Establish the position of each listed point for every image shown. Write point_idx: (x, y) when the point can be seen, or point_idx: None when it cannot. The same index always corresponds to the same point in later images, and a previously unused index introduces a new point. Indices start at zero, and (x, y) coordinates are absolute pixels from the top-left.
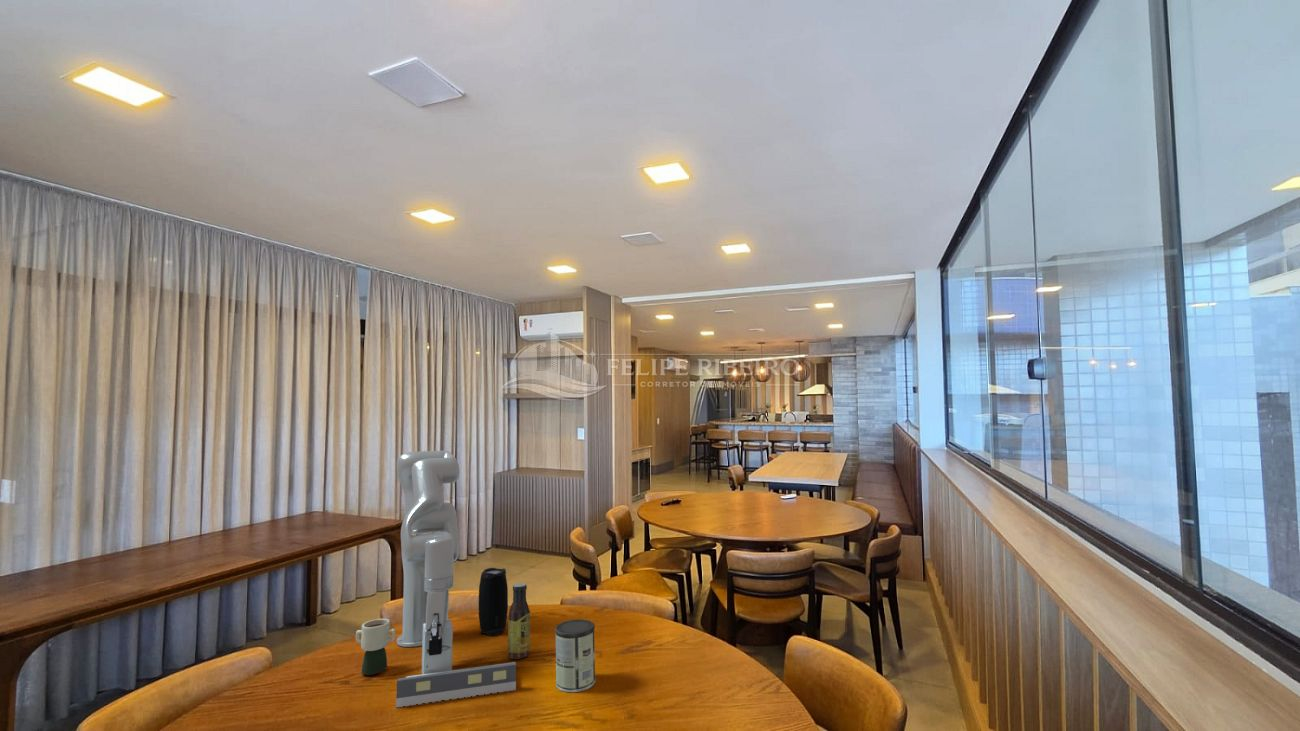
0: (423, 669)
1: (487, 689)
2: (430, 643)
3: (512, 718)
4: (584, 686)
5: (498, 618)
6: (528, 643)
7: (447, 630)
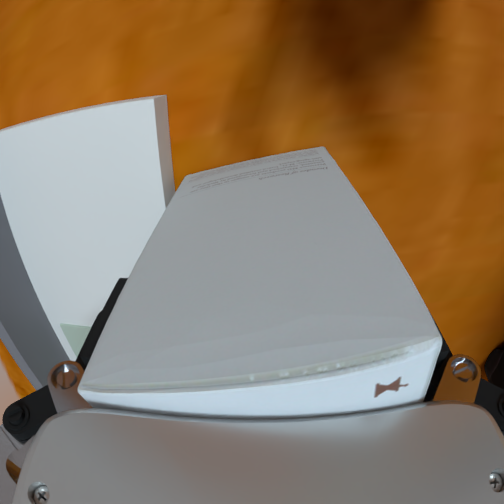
0: (186, 191)
1: None
2: (95, 340)
3: (13, 378)
4: None
5: None
6: None
7: None
